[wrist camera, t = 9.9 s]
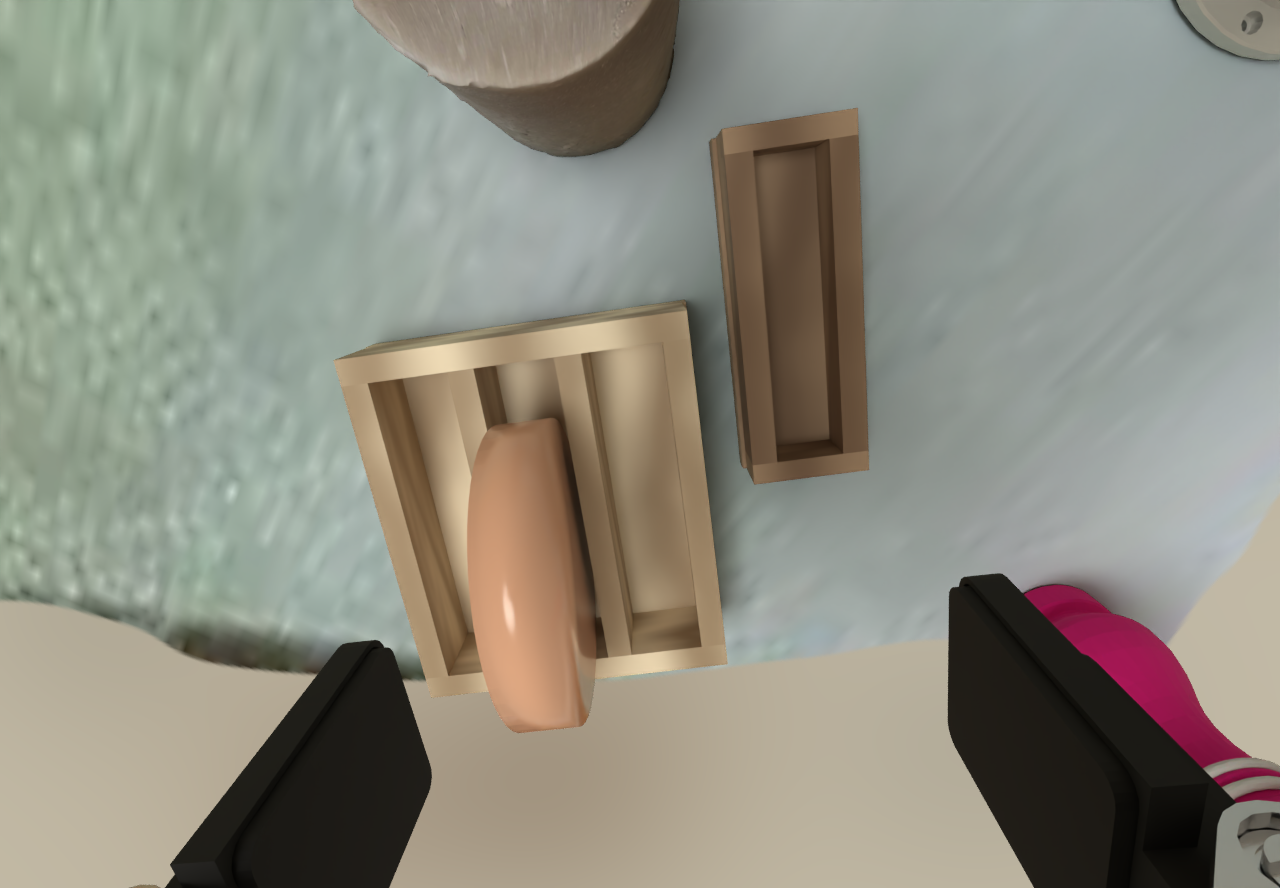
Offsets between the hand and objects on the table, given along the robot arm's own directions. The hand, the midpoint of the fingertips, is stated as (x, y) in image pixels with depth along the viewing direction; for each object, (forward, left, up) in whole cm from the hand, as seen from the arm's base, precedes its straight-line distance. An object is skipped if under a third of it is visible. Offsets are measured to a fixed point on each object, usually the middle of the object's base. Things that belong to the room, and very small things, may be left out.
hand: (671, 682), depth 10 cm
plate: (+6, +5, -22) cm, 23 cm away
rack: (+6, +5, -24) cm, 25 cm away
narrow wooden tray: (-7, -3, -24) cm, 25 cm away
